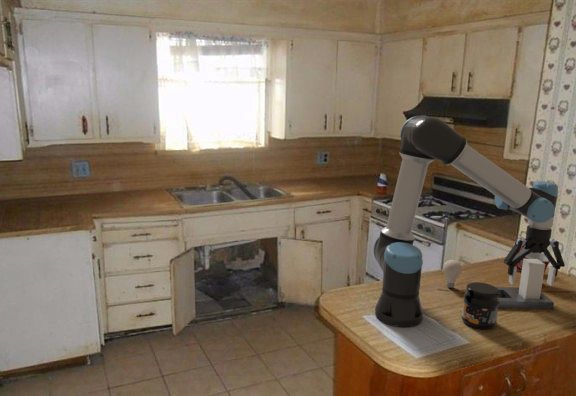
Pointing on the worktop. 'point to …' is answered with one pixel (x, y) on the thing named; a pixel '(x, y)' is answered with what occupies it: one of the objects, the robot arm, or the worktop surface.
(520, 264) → the soda can
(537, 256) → the plastic cup
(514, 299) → the rail plate
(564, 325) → the worktop surface
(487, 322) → the supplement container
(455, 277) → the light bulb
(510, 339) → the worktop surface
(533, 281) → the square post
